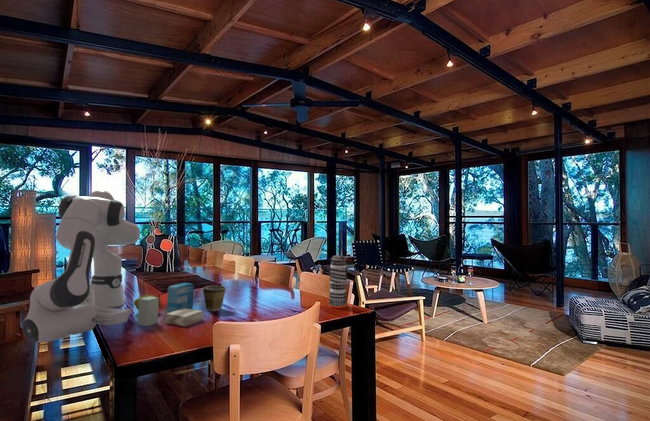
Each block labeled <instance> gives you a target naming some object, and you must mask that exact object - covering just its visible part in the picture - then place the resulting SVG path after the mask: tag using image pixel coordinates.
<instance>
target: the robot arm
mask: <svg viewBox="0 0 650 421" xmlns="http://www.w3.org/2000/svg"><path fill="white" fill-rule="evenodd" d="M124 206H125V205H124V204H123V203H122V202H121V201H118V200H117V199H115V198H114V196H113V195H112V194H111V193H110V192H108V191H106V190H103V189H98V190H94V191H92V192H91V193H89V194H88V196H85V195H84V196H83V195H82V196H81V195H80V196H78V195H76V194H74V195H66V196H65V197H63V198H62V199H61V200H60V202H59V205H58V209H57V210H58V216H59V218H60V219H61V220H60V222H59V224H58V227H57V231H56V236H55V239H56V241H57V242H58V244H59V245H60V246H61V247H62V248H65V249H67V250H70V252H69V257H68V261H67V264H66V268H65V270H64V272H63V273H62V274H60V275H59V276H57V277H56V278H54V279H51V280H49V281H46V282H44V283H41V284H40V285H38V286H36V287H35V288H33V290H32V291H31V292H30V296H29V303H30V304H29V309H28V313H27V315H26V316H25V318H24V320H23V322H22V325H21V329H22V333H23V335H24V337H25V338H26V339H27V341H29V342H32V343H35V344H36V343H48V342H52V341H57V340H60V339H63V338H65V337H67V336H75V335H79V334H82V333H87V332H89V331H90V332H91V331H92V330H94V328H95V327H96V325H102V326H113V325H117V324H122V323H125V322H127V321H128V319H129V315H131V314H133V312H132V311H133V310H132V308H126V309H120V308H116V307H121V306H123V305H125V302H126V299H125V298H124V286H123V284H122V282H123V274H122V266H123V265H122V261H123V260H122V257H121V256H120V255H119V254H117V253H115V252H112V251H111V250H110V249H109V247H108V246H127V245H135V244H136V243H137V242H138V241H139V240H140V236H141V230H140V227H139V226H138V224H136V223H132V222H130V221H128V220H126V219H125V218H124V217H125V214H126V211H125V207H124ZM92 261H93V262H92ZM92 263H93V275H92V276H90V272H91V267H92Z"/></svg>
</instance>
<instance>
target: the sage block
mask: <svg viewBox="0 0 650 421" xmlns="http://www.w3.org/2000/svg"><path fill="white" fill-rule="evenodd" d="M158 302H159V303H160V300H159V297H157V296H156V297H150V296H149V297H144V298H140V299H139V308H138V309H137V311H138V314H137V316H138V317H137V325H139V326H144V327H149V326H152V325H154V324H158V323H159V307H158Z"/></svg>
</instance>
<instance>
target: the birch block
mask: <svg viewBox="0 0 650 421" xmlns="http://www.w3.org/2000/svg"><path fill="white" fill-rule="evenodd" d="M203 316H204V311H203V310H199V309H193V308H192V309H185V308H183V309H180V310H177V311H173V312H170V313H165V324H167V325H168V324H169V325H176V326H183V327H187V326H190V325H192V324H195V323H198V322H201V321H203V318H204V317H203Z"/></svg>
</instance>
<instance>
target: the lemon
mask: <svg viewBox="0 0 650 421" xmlns="http://www.w3.org/2000/svg"><path fill="white" fill-rule="evenodd" d="M149 296H150V297H157V296H155V295H153V294H144V295H141V296H139V297H138V298H137V299H135V300H134V301H133V304H134V306H135V307H136V309H137V310H138V308H139V299H140V298H144V297H149ZM158 308H160V301H159V302H158Z"/></svg>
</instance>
